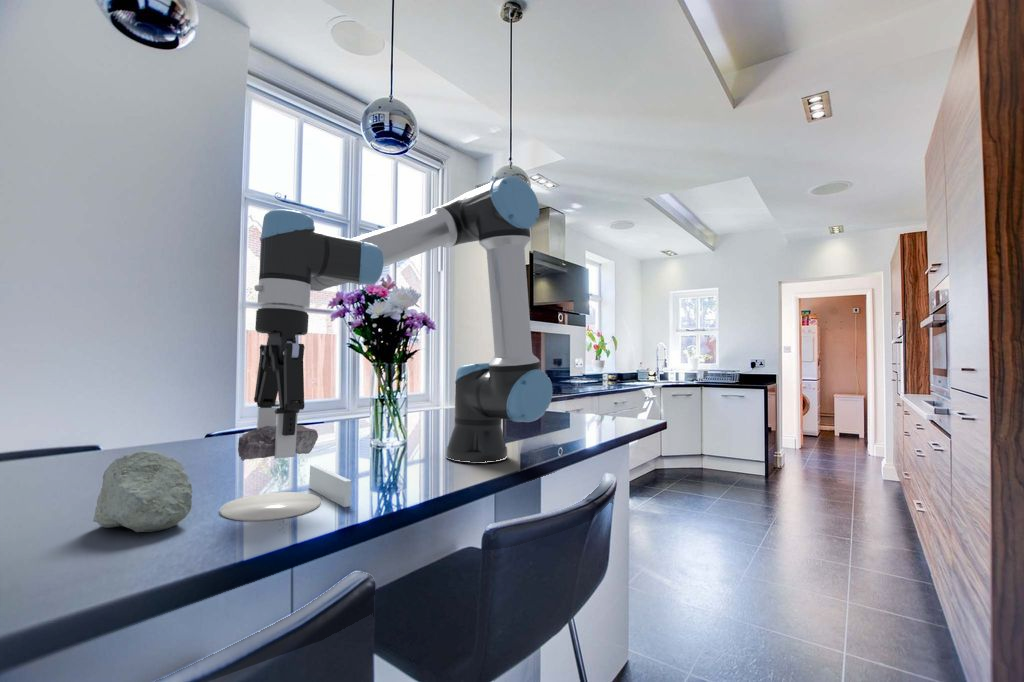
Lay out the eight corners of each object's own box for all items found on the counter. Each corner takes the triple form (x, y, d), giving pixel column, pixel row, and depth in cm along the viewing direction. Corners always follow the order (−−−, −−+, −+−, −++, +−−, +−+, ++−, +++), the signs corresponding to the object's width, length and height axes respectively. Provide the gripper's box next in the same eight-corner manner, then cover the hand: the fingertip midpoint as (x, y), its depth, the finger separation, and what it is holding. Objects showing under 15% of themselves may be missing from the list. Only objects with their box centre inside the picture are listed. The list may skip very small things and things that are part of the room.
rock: (220, 457, 72) (223, 426, 72) (288, 447, 82) (290, 420, 82) (253, 464, 68) (256, 431, 68) (320, 453, 78) (322, 425, 78)
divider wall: (314, 486, 87) (315, 464, 87) (350, 506, 76) (351, 480, 76) (309, 487, 86) (310, 465, 87) (344, 507, 75) (345, 481, 76)
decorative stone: (92, 516, 67) (70, 468, 62) (180, 478, 75) (167, 432, 69) (123, 584, 61) (101, 537, 56) (215, 535, 69) (204, 489, 63)
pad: (302, 490, 85) (302, 487, 85) (334, 509, 74) (334, 506, 74) (210, 503, 75) (210, 501, 75) (232, 527, 65) (233, 524, 65)
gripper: (239, 311, 82) (230, 444, 81) (280, 300, 66) (270, 466, 65) (285, 315, 87) (277, 441, 86) (334, 307, 71) (325, 461, 70)
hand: (274, 452), depth 75 cm, fingers closed on rock, 9 cm apart
